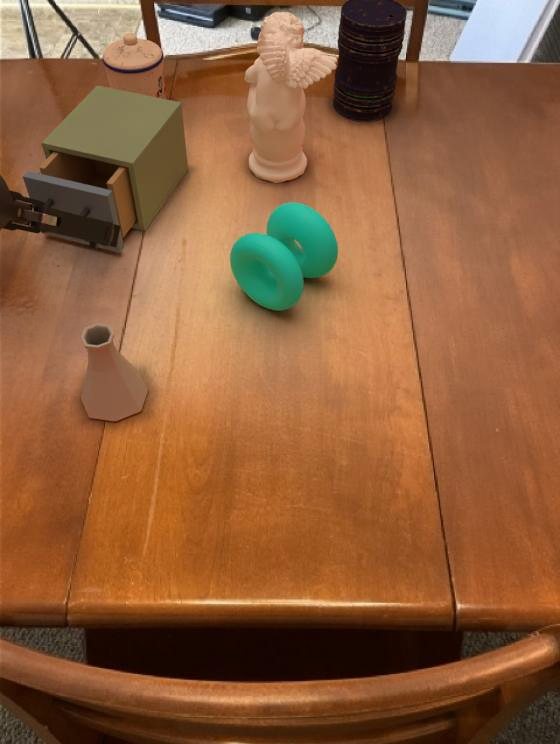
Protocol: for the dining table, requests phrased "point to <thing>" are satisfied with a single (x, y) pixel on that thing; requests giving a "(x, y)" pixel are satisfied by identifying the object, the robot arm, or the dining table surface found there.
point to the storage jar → (368, 58)
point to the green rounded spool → (284, 256)
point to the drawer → (85, 191)
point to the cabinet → (128, 142)
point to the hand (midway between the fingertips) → (71, 225)
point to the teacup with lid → (135, 66)
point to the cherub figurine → (281, 96)
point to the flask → (109, 378)
